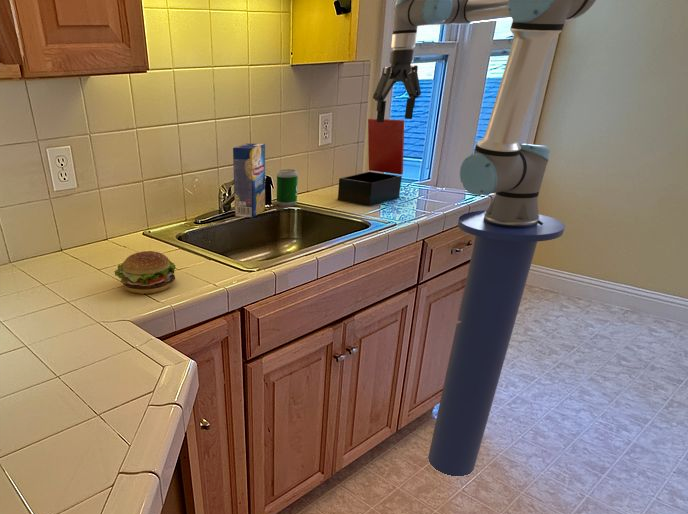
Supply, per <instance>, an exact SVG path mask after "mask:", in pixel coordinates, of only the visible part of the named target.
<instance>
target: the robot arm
mask: <svg viewBox="0 0 688 514" xmlns="http://www.w3.org/2000/svg"><path fill="white" fill-rule="evenodd" d="M596 1H597V0H395V6H394V16H393V25H392V34H391V35H392V36H391V45H390V48H391V49H392V50H391V51H390V53H389V64H390V66H384V67H382V71H381V76H380V78H379V81H378V84H377V86H376V89H375V90H374V94H373V96H372V99H373V100H374V101H376V102H377V103H376V112H377V114H376V119H377V122H384V119H385V114H386V106H387V100H385V99H386V98H387V96H388V95H389V93H390V91H391V90H392V88H393V87H394V85H395V84H396V83H402V84H403V86H404V88H405V90H406V91H405V92H407V95H408V98H406V103H405V104H406V105H405V113H404V120H413V115H414V109H415V105H416V99H418V98H419V96H421V95H422V90H421V86H420V85H421V84H420V80H419V75H418V69H419V67H418V66H419V65H417V64H416V65H415V64H414V65H412V63H414V57H415V49H414V48H415V47H416V42H417V35H418V34H417V33H418V27H419V26H420V27H421V26H433V25H434V26H439V25H440V26H443V25H459V26H460V25H461V26H463V25H465V26H467V25H471V24H474V23H482V22H491V21H492V22H493V21H501V20H509V19H511V20H512V21H511V25H510V29H509V30H510V32H511V34H512V35H513V41H512V43H511V47H510V51H509V54H508V57H507V61H506V64H505V67H504V70H503V74H502V77H501V81H500V84H499V87H498V90H497V94H496V97H495V101H494V104H493V107H492V110H491V113H490V117H489V120H488V124H487V127H486V130H485V132H484V136H483V138H481V139H479V140H478V141H477V142H476V143H475V147H474V151H473V153H471V154H469V155H468V156H467V157H466V158H464V159H463V161H462V163H461V165H460V168H459V179H460V182H461V184H462V187H463V188H464V189H465V191H466V192H467V193H469V194H471V195H473V196H474V195H475V196H482V195H483V196H488V195H491V194H495V195H494V197H493V198H492V201H491V203H490V204H489V206H488V207H487V209H486V210H487V211H486V213H485V216H484V221H485V222H486V223H488V224H491V225H494V226H499V227H506V228H529V227H534V226H536V225H537V224H538V223H539V224H540V225H542V224H543V223H542V222H541V221H539V214H540V213H539V212H540V211H539V201H538V198H539V195H540V190H541V186H542V183H543V181H544V180H543V179H544V175H545V173H546V169H547V165H548V162H549V158H550V157H549V155H550V151H551V150H550V148H549V146H547V145H541V144H530V143H521V142H520V143H519V138H520V134H521V132H522V129H523V125H524V123H525V120H526V117H527V113H528V112H529V111H528V110H529V108H530V106H531V102H532V99H533V96H534V93H535V90H536V88H537V84H538V81H539V79H540V76H541V73H542V70H543V68H544V63H545V61H546V58H547V56H548V52H549V49H550V47H551V43H552V40H553V39H554V38H555V37H556V36H558V35H559V34H560V33H562V32H563V29H564V26H565V23H566V22H567V21H571V20H574V19H577V18H579V17H581V16H583V15H584V14H585V13H587V12H588V11H589V10H590V9H591V8H592V7H593V5H595V3H596Z"/></svg>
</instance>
